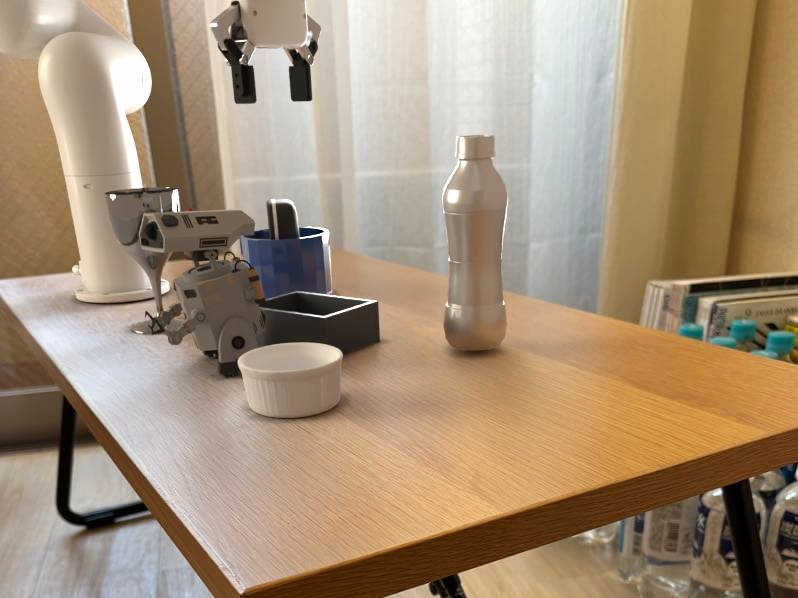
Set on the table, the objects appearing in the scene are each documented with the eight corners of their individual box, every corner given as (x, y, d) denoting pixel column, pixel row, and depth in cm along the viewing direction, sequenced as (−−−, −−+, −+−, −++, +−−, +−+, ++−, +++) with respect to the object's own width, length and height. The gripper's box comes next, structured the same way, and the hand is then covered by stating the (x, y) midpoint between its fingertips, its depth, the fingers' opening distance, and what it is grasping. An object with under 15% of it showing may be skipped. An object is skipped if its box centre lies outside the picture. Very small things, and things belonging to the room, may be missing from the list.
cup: (228, 300, 118) (220, 236, 114) (287, 284, 126) (282, 225, 123) (292, 308, 112) (286, 242, 108) (350, 291, 120) (346, 229, 116)
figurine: (147, 364, 91) (121, 208, 84) (257, 349, 95) (241, 199, 88) (160, 388, 84) (132, 219, 77) (280, 370, 87) (263, 208, 80)
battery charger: (305, 295, 116) (297, 202, 111) (275, 297, 115) (266, 203, 110) (302, 285, 122) (294, 196, 117) (274, 287, 122) (265, 197, 116)
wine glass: (210, 320, 107) (192, 187, 101) (168, 336, 101) (146, 195, 94) (157, 316, 111) (136, 187, 104) (113, 331, 104) (88, 194, 97)
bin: (327, 360, 90) (324, 317, 88) (245, 346, 96) (240, 305, 94) (380, 341, 96) (378, 300, 94) (299, 328, 102) (296, 290, 100)
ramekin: (356, 413, 75) (353, 363, 73) (250, 427, 73) (244, 375, 71) (333, 384, 82) (330, 338, 80) (237, 396, 80) (231, 348, 78)
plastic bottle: (513, 342, 94) (517, 133, 85) (497, 359, 88) (500, 137, 79) (454, 339, 96) (452, 134, 87) (435, 356, 90) (431, 138, 81)
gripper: (290, -54, 110) (300, 100, 118) (180, -69, 98) (200, 104, 106) (335, -61, 106) (343, 100, 114) (227, -77, 94) (244, 104, 102)
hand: (274, 102), depth 110 cm, fingers open, 9 cm apart
